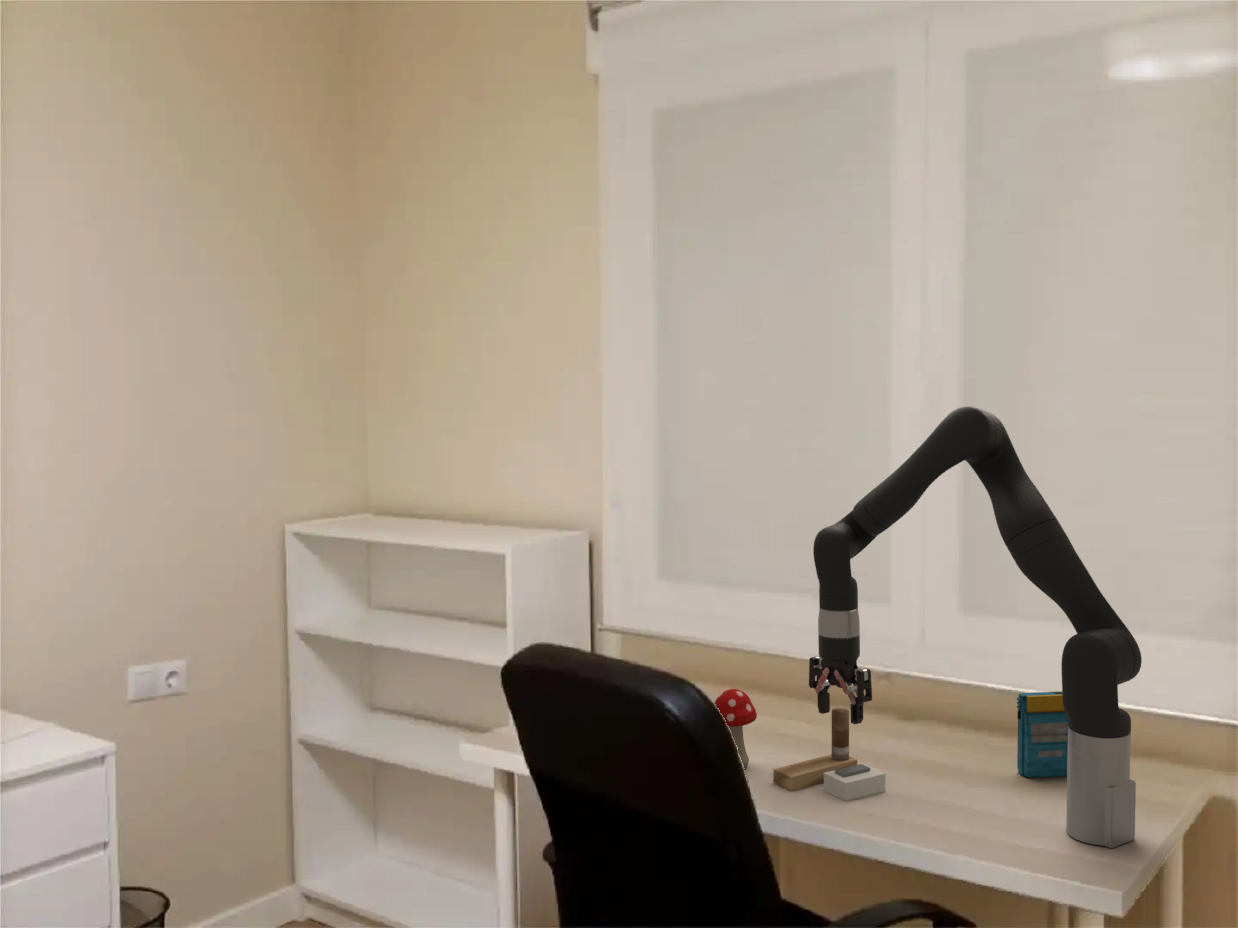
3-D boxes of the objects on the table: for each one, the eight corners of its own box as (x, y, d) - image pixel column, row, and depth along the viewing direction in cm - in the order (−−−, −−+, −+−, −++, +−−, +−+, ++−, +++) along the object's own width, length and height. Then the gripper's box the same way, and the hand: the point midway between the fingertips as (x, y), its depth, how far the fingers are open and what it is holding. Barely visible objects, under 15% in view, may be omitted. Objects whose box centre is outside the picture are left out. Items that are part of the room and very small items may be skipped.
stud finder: (885, 792, 203) (885, 770, 202) (845, 802, 198) (845, 779, 198) (863, 782, 208) (862, 760, 208) (823, 791, 204) (823, 769, 203)
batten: (857, 772, 212) (857, 759, 212) (791, 790, 204) (791, 777, 203) (838, 765, 216) (838, 752, 216) (773, 782, 208) (773, 769, 208)
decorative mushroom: (737, 779, 209) (736, 699, 208) (699, 769, 215) (698, 691, 214) (767, 765, 217) (766, 687, 216) (729, 755, 223) (728, 680, 221)
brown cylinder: (852, 758, 212) (852, 711, 212) (839, 762, 211) (839, 714, 210) (840, 754, 215) (840, 707, 214) (827, 757, 213) (828, 710, 213)
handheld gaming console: (1065, 770, 211) (1066, 690, 210) (1076, 777, 207) (1077, 697, 206) (1014, 772, 211) (1015, 692, 210) (1023, 780, 207) (1024, 698, 206)
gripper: (881, 635, 207) (882, 723, 208) (827, 622, 219) (828, 706, 220) (851, 641, 203) (852, 731, 204) (797, 628, 215) (798, 712, 216)
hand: (840, 717), depth 212 cm, fingers open, 8 cm apart
